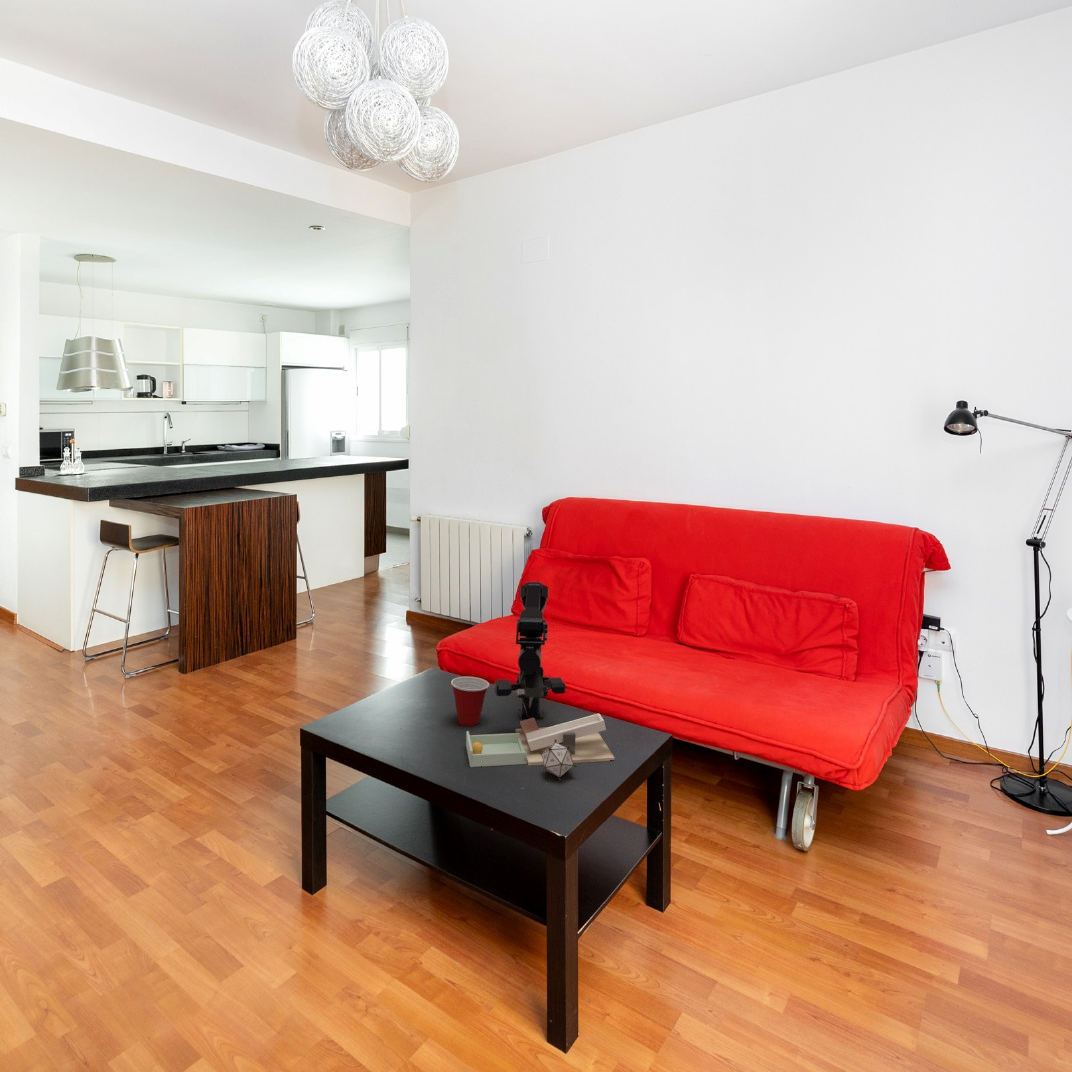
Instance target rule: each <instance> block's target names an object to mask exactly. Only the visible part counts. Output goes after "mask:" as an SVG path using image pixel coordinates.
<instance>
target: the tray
mask: <svg viewBox="0 0 1072 1072" xmlns="http://www.w3.org/2000/svg"><path fill="white" fill-rule="evenodd" d="M465 733H466V735H465V739H466V740H465V741H466V742H465V746H466V747H465V748H466V753H467V757H468V762H469V767H470V768H478V767H479V768H480V767H481V766H482V767H493V766H494V767H495V766H511V765H513V766H515V765H528V763H527V752H526V751H524V748H523V746H522V743H521V740H520V733H516V732H513V733H512V732H511V733H493V734H475V735H474V734H473V735H471V734H470V730H467V731H466V732H465ZM475 742H479V743H481V744H482V746H483V750H482V752H481V753H480V754H474V753H473V749H472V744H473V743H475ZM482 767H481V768H482Z"/></svg>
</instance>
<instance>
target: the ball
mask: <svg viewBox="0 0 1072 1072" xmlns="http://www.w3.org/2000/svg"><path fill="white" fill-rule="evenodd" d="M472 749H473V753H474V754H480V753H481V752H482V750H483V746H482V744H481V743H479V742H475V743H473V744H472Z"/></svg>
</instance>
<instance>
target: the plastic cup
mask: <svg viewBox="0 0 1072 1072" xmlns="http://www.w3.org/2000/svg"><path fill="white" fill-rule="evenodd" d="M450 684H451V686H452V690H453V695H454V702H455V708H456V709H455V710H456V714H457V719H458V720H457V721H458V723H459V725H461V726H463V727H473V726H476V725H478V724H480V720H481V715H482V711H483V706H484V702H485V696H486V693H487V690H488V688H489V687H490V683H489V682H488V680H485V679H483V678H480V677H475V676H459V677H455V678H453V679H452V680H451V683H450Z"/></svg>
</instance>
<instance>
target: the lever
mask: <svg viewBox="0 0 1072 1072" xmlns="http://www.w3.org/2000/svg"><path fill="white" fill-rule="evenodd" d="M519 723H520V726H521V727H520V728H521V729H523V732H524V734H525V737H526V739H527V742H528V745H529V747H530V750H531V751H533V750H536V749H540V748H543V747H547V746H551V745H553V744H554V743H555V741H554V740H555V739H556V741H557V742H556V743H561V742H563V734H567V733H575V735H576V736H575V738H579V737H582V736H586V735H590V734H593V733H597V732H598V733H599V732H603V731H606V730H607V729H606V728H607V727H606V723H605V720H604V719H603V717H602V716H601V714H600V713H594V714H592V715H588V716H584V717H581V718H576V719H574V720H570V721H567V722H562V724H560V723H558V724H559V725H558V724H556V725H551V726H547V727H548V728H544V729H541V730H539V728H540V727H539V726H538V723H537V721H536V719H534V718H531V719H524V720H521V721H519Z"/></svg>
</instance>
